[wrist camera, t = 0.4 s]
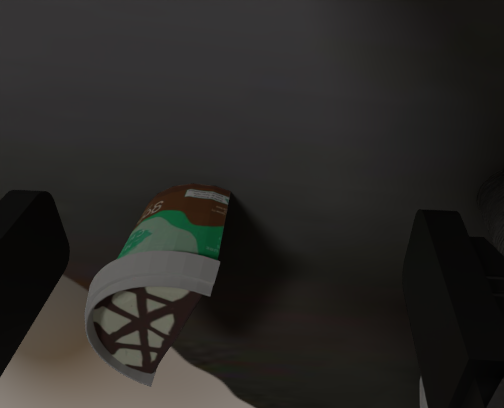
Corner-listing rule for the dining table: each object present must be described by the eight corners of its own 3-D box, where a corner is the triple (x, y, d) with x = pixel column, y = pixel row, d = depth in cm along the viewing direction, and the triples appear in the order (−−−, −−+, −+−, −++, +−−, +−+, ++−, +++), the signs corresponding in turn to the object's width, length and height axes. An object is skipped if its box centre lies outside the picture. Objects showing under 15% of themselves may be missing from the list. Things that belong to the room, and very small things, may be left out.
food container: (154, 139, 30) (99, 246, 23) (239, 176, 32) (214, 290, 24) (111, 252, 38) (59, 361, 30) (181, 278, 39) (148, 390, 31)
